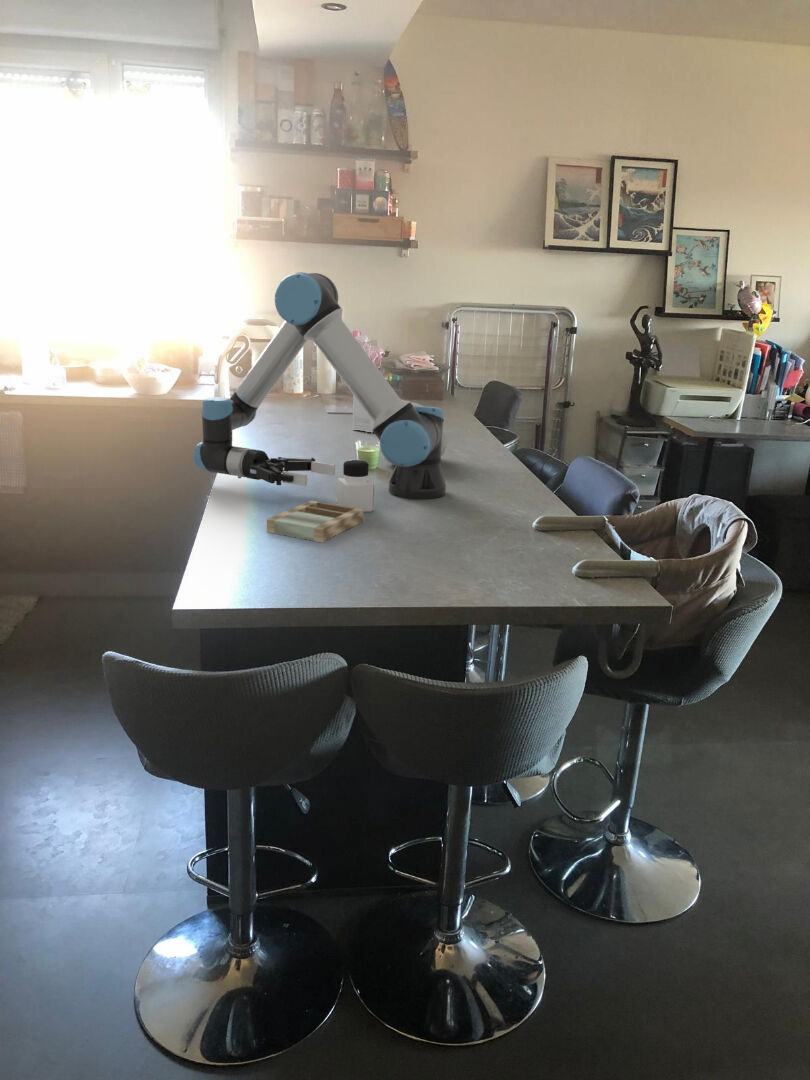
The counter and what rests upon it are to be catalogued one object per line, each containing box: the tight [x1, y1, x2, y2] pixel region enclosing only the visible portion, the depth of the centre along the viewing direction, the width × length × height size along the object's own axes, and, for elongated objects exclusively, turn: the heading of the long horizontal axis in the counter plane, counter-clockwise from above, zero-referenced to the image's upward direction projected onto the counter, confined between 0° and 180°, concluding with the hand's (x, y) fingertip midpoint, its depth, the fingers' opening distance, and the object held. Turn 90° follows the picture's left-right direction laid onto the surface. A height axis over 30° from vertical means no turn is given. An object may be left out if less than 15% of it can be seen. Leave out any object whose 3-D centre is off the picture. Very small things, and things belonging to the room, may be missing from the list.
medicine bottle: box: [336, 459, 375, 513], centre depth 211 cm, size 7×7×12 cm
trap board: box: [266, 500, 364, 543], centre depth 196 cm, size 19×14×3 cm
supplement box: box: [352, 394, 373, 431], centre depth 313 cm, size 9×9×15 cm
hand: (320, 475), depth 215 cm, fingers open, 13 cm apart
